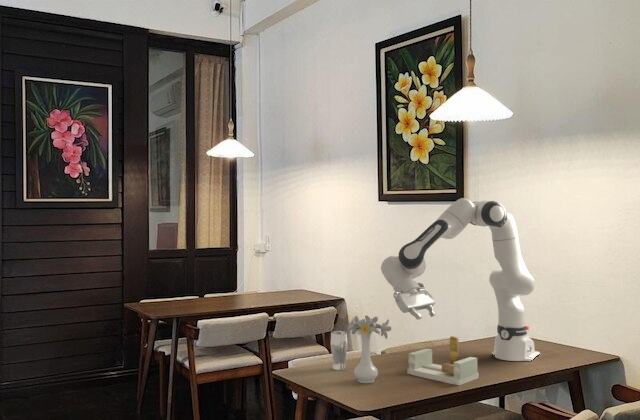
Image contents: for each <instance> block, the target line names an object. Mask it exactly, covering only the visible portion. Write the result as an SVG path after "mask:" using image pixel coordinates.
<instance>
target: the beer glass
mask: <svg viewBox="0 0 640 420" xmlns="http://www.w3.org/2000/svg"><path fill="white" fill-rule="evenodd" d="M346 332H347V331H342V330H335V331H331V333H330V351H331V355H332V365H331V370H333V371H339V372H341V371H346V370H347V368H348V367H347V361H346V360H347V351H348V332H347V333H346ZM345 333H346V334H345Z"/></svg>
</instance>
